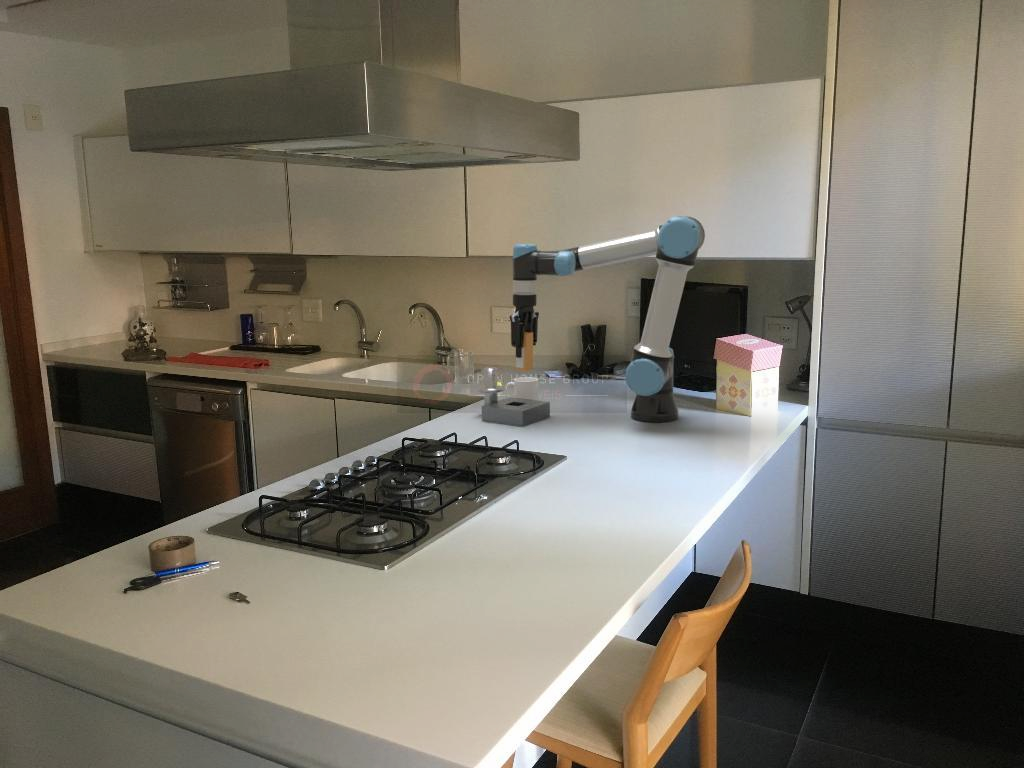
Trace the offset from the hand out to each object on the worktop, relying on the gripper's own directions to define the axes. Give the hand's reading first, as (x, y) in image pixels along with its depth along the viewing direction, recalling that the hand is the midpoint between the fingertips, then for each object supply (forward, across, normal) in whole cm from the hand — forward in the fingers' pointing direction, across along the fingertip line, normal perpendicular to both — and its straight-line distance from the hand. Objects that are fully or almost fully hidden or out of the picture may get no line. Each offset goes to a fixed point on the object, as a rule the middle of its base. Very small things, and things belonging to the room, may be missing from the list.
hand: (524, 366), depth 268 cm
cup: (+18, -14, -11) cm, 25 cm away
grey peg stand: (+18, 0, -6) cm, 19 cm away
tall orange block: (+1, 0, 0) cm, 1 cm away
